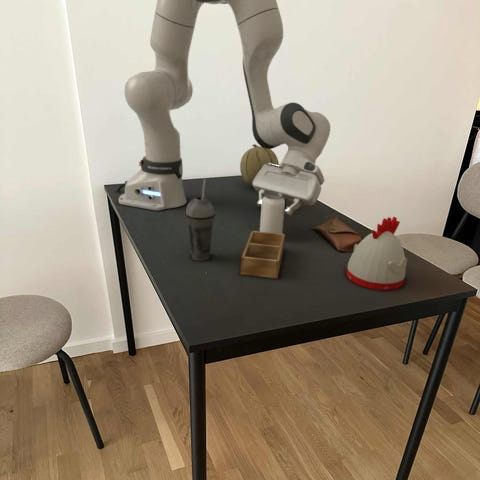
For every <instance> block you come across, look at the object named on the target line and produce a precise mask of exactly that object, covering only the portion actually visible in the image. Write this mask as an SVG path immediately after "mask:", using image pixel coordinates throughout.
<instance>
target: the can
mask: <svg viewBox="0 0 480 480" xmlns="http://www.w3.org/2000/svg"><path fill="white" fill-rule="evenodd" d="M284 208H285V200H284V195H283V194H280V193H275V192H270V193H265V194H264V197H263V199H262V205H261V209H260V220H259V232H268V233H278V234H283V227H284V220H285V219H284V218H285V210H284Z"/></svg>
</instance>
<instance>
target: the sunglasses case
mask: <svg viewBox="0 0 480 480" xmlns="http://www.w3.org/2000/svg"><path fill="white" fill-rule="evenodd" d="M312 230H314V231H315V232H317V233H318V234H319V235H320V236H321V237H323V238H324V239H325V240H326V241H327V242H328V243H329V244H330V245H331V246H332V247H334V248H335V249H336V250H337V251H340V252H346V253H347V252H352V253H353V252H354V246H355V244H357V245H358V244H359V243H360V242H361V241H362V240H363V239H364V238H365V237H363V236H362V235H361V234H359V233H358V232H357V231H355V230H354V229H353V228H352V227H350V226H349V225H348V224H346V223H345V222H343V221H342V220H340V219H339V218H338V216H336V215H334V217H332V218H331V219H329V220H327V221H325V222H322V223H321V224H319V225H317V226H314V227H312Z"/></svg>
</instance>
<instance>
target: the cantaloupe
mask: <svg viewBox="0 0 480 480" xmlns="http://www.w3.org/2000/svg"><path fill="white" fill-rule="evenodd" d="M270 162H271V163H274V164H280V162H279V158H278V156H277V155H276V153H275V152H274V150H272V149H266V148H263V147H262V146H260V145H257V144H256V143H255V144H252V148H249V149H247V150H246V151H245V152H244V153H243V155H242V157H241V159H240V163H239V169H240V175H241V177H242V179H243V181H244V182H245V183H246V184H247V185H249V186H251V187H253V185H252V182H253V180H254V178H255V177H256V175H257V174H258V172H259V171H260V170H261V169H262V167H263V165H265V164H268V163H270Z"/></svg>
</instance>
